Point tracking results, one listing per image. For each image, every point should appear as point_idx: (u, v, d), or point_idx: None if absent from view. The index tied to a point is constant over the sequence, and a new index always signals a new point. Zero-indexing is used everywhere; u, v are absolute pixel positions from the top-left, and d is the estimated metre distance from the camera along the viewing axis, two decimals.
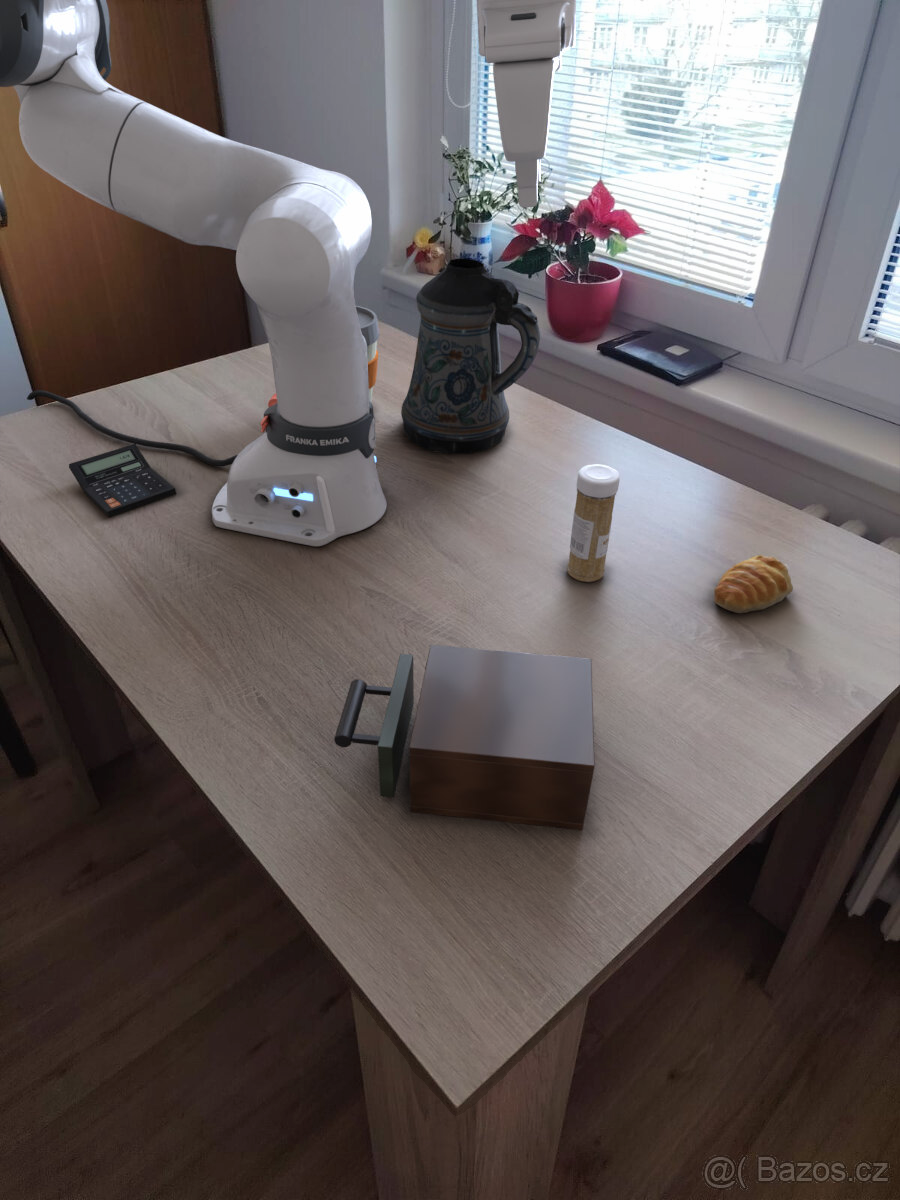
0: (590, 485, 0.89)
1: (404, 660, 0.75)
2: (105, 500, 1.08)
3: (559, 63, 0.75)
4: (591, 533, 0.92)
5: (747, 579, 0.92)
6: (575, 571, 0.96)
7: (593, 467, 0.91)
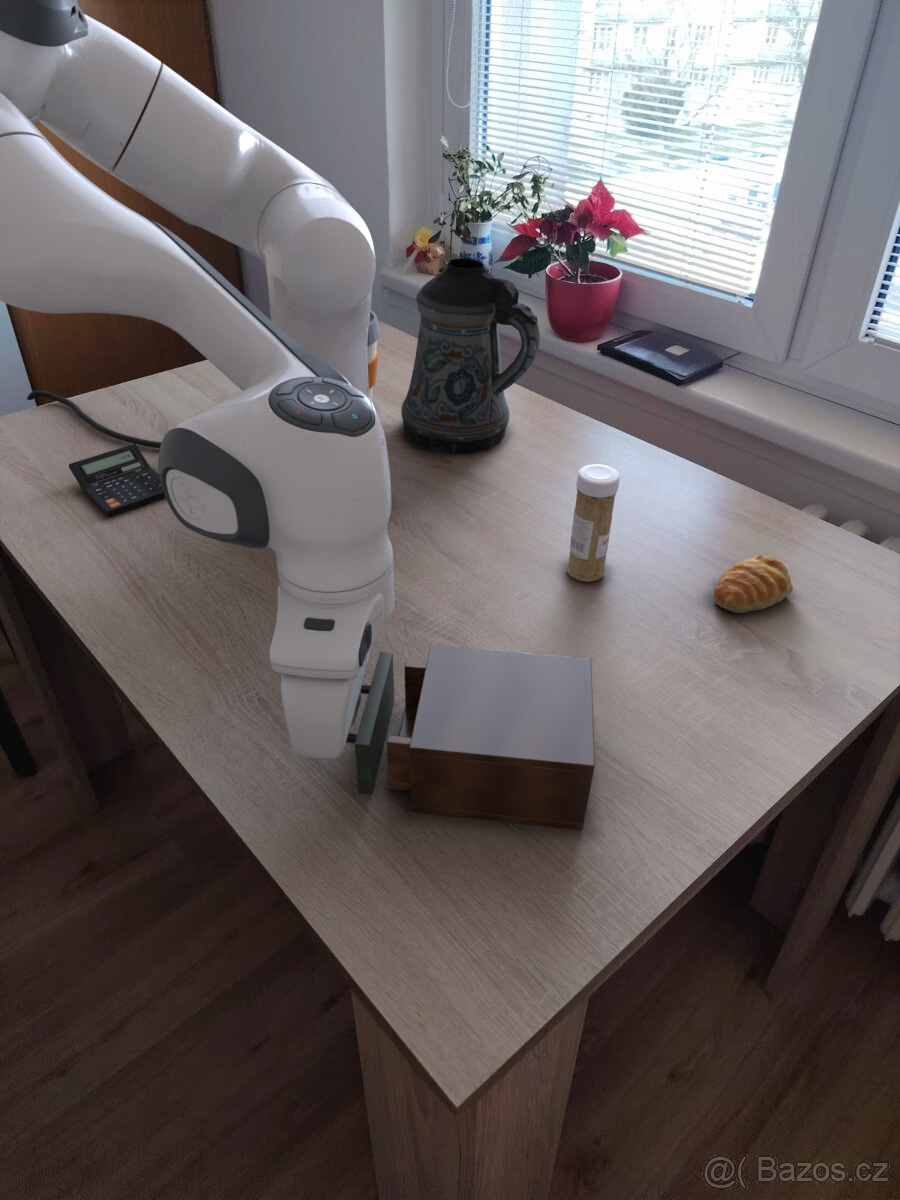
0: (590, 485, 0.89)
1: (383, 658, 0.75)
2: (105, 500, 1.08)
3: None
4: (591, 533, 0.92)
5: (746, 579, 0.92)
6: (575, 571, 0.96)
7: (593, 467, 0.91)
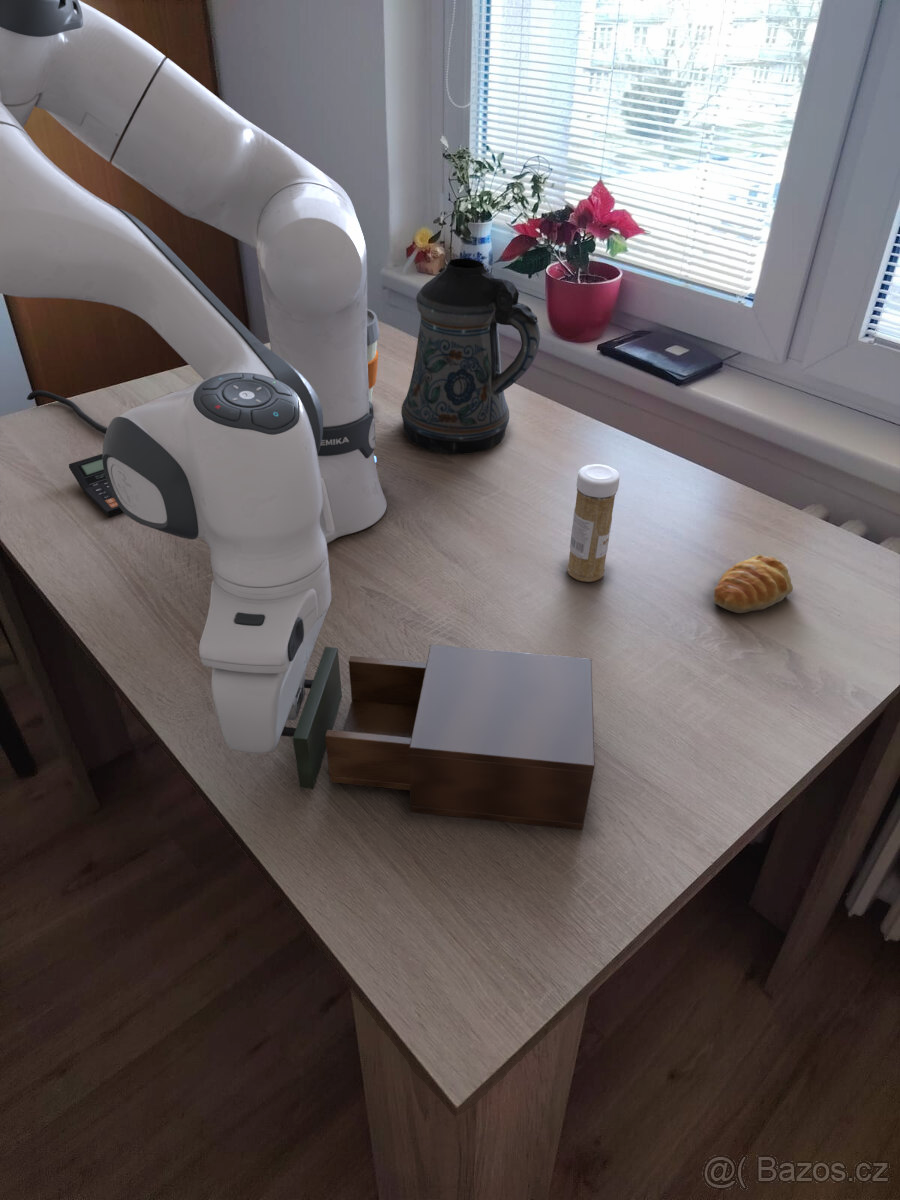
0: (590, 485, 0.89)
1: (328, 653, 0.75)
2: (105, 500, 1.08)
3: None
4: (591, 533, 0.92)
5: (746, 579, 0.92)
6: (575, 571, 0.96)
7: (593, 467, 0.91)
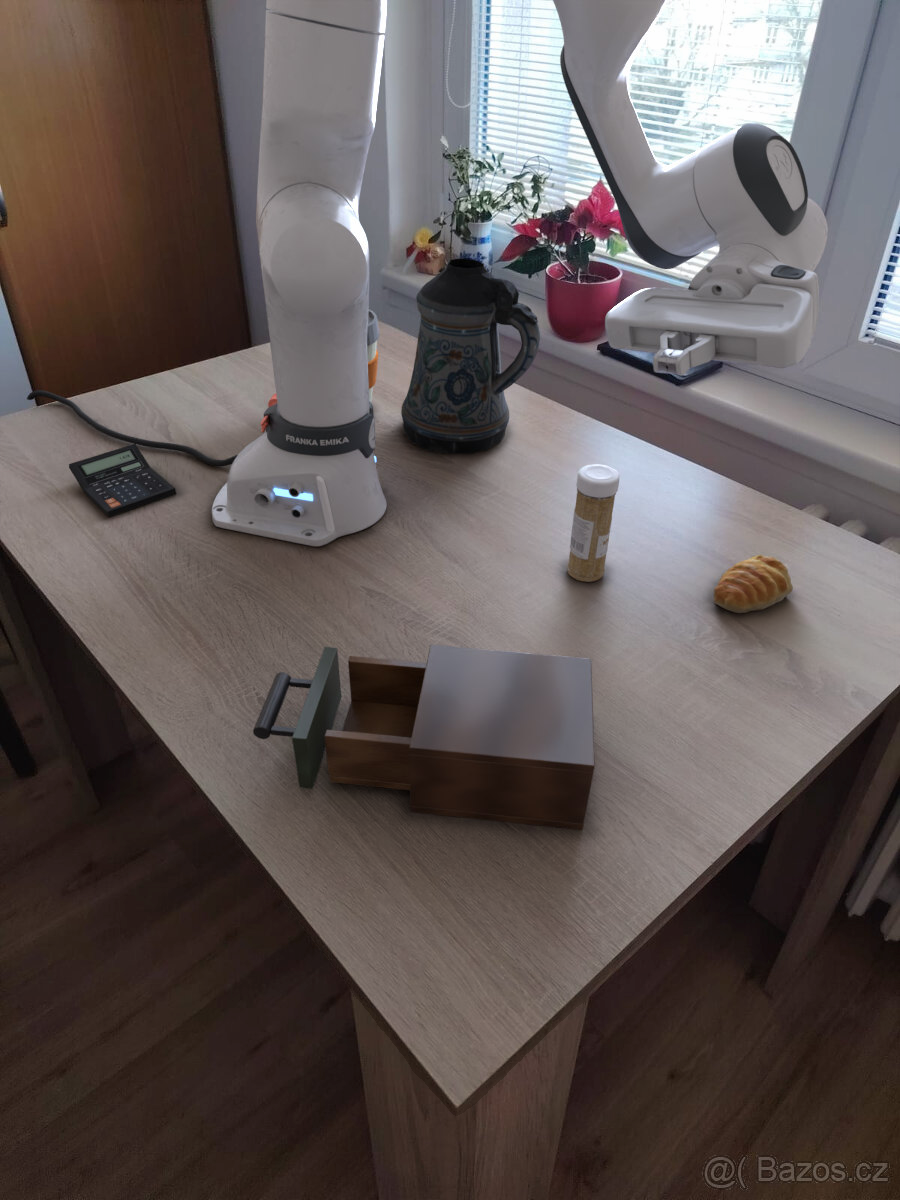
0: (590, 485, 0.89)
1: (327, 653, 0.75)
2: (105, 500, 1.08)
3: None
4: (591, 533, 0.92)
5: (746, 579, 0.92)
6: (575, 571, 0.96)
7: (593, 467, 0.91)
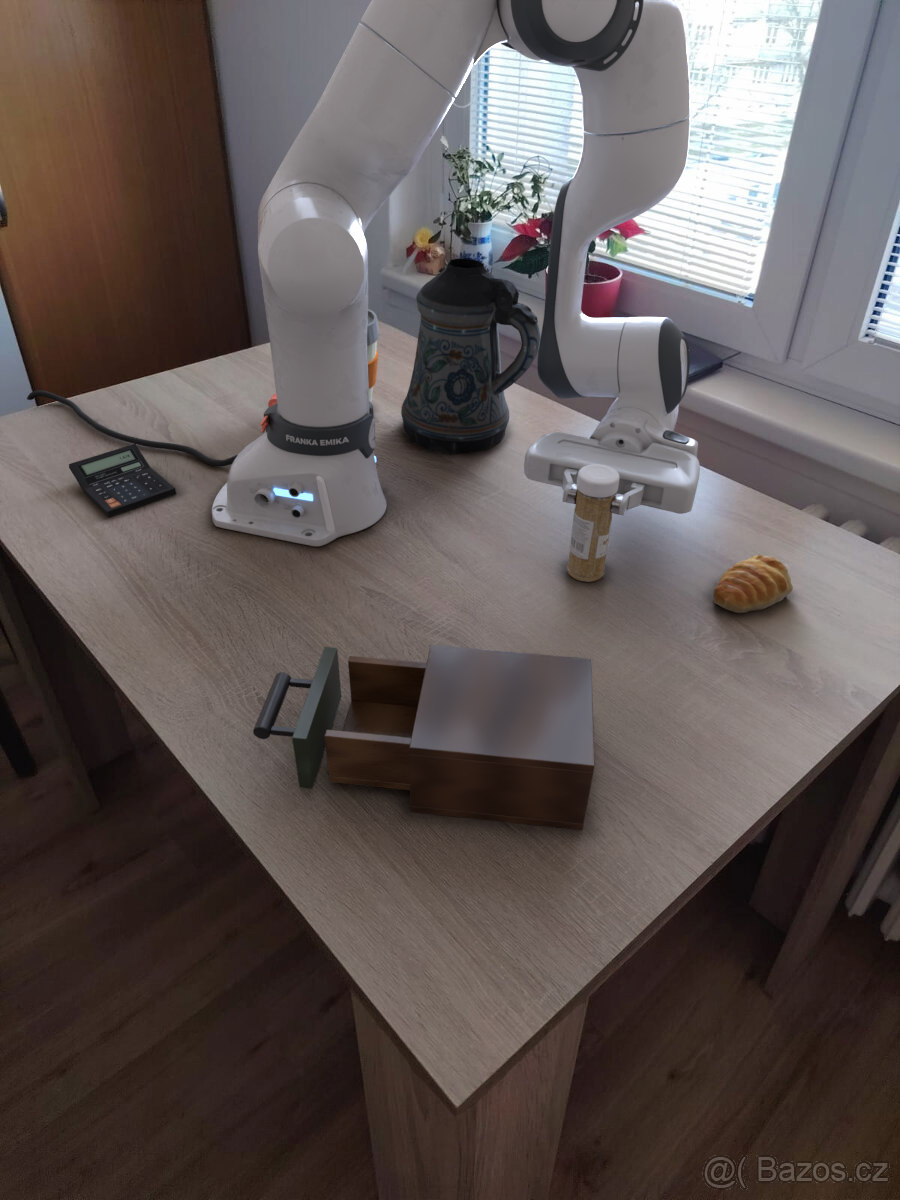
0: (590, 485, 0.89)
1: (327, 653, 0.75)
2: (105, 500, 1.08)
3: None
4: (591, 533, 0.92)
5: (746, 579, 0.92)
6: (575, 571, 0.96)
7: (593, 467, 0.91)
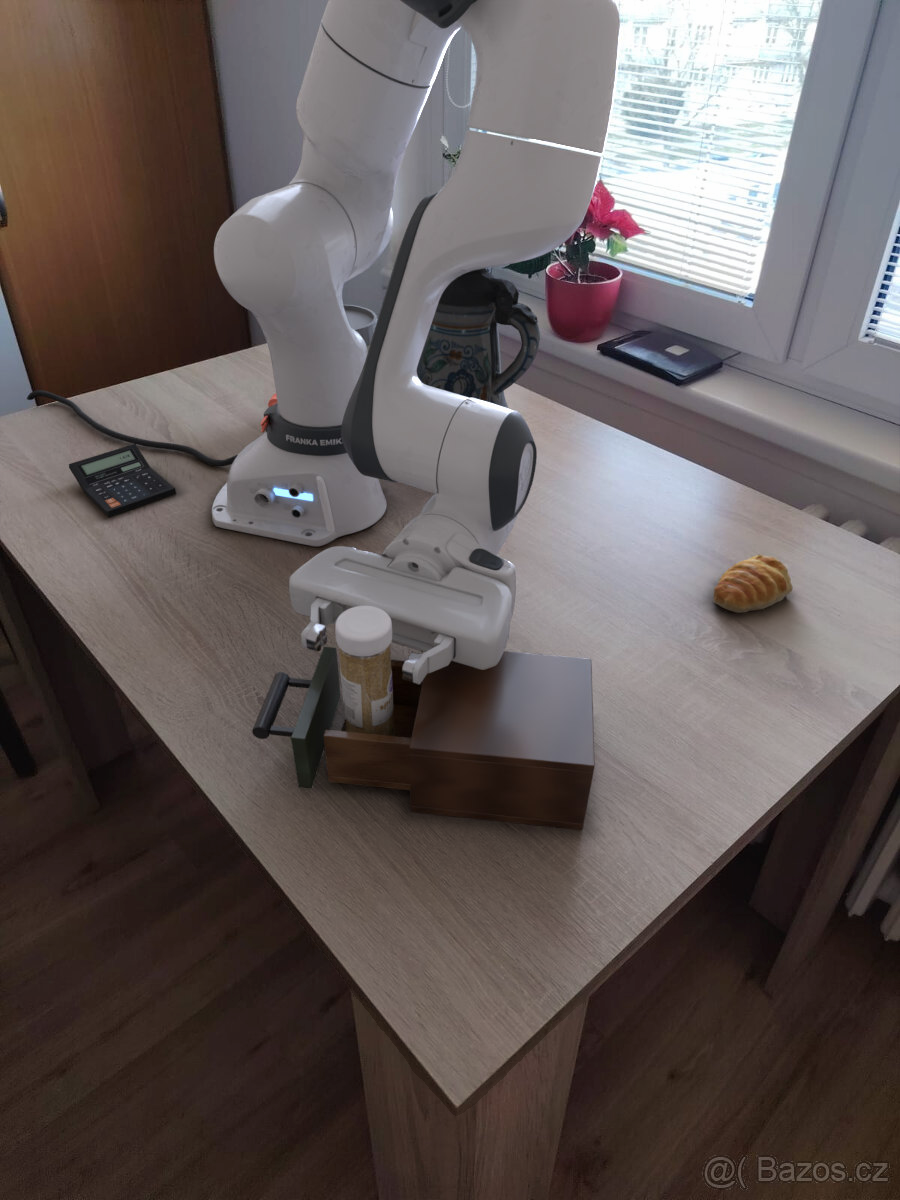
0: (347, 641, 0.65)
1: (327, 653, 0.75)
2: (105, 500, 1.08)
3: None
4: (360, 698, 0.68)
5: (746, 579, 0.92)
6: None
7: (358, 612, 0.67)
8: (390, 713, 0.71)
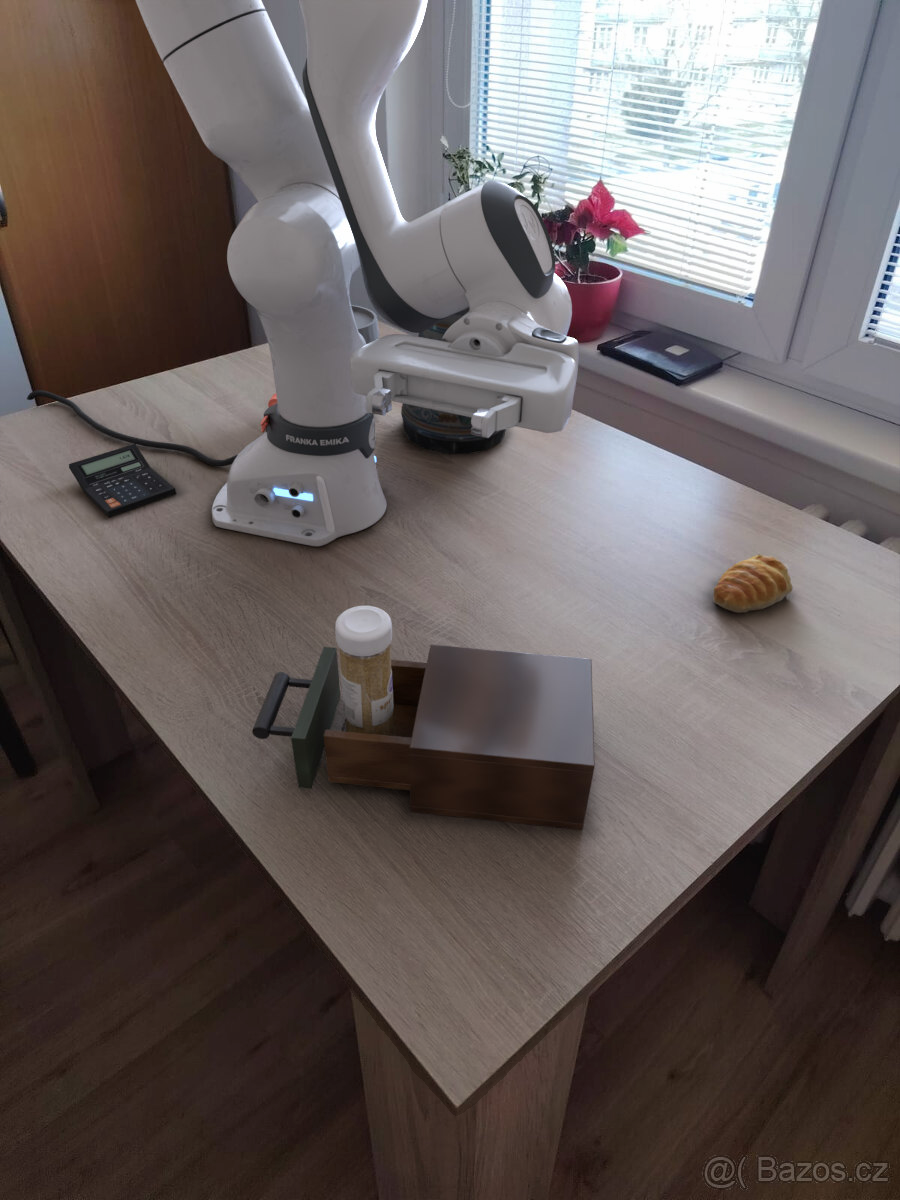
0: (347, 641, 0.65)
1: (327, 653, 0.75)
2: (105, 500, 1.08)
3: None
4: (360, 698, 0.68)
5: (746, 579, 0.92)
6: None
7: (359, 611, 0.67)
8: (390, 713, 0.71)
